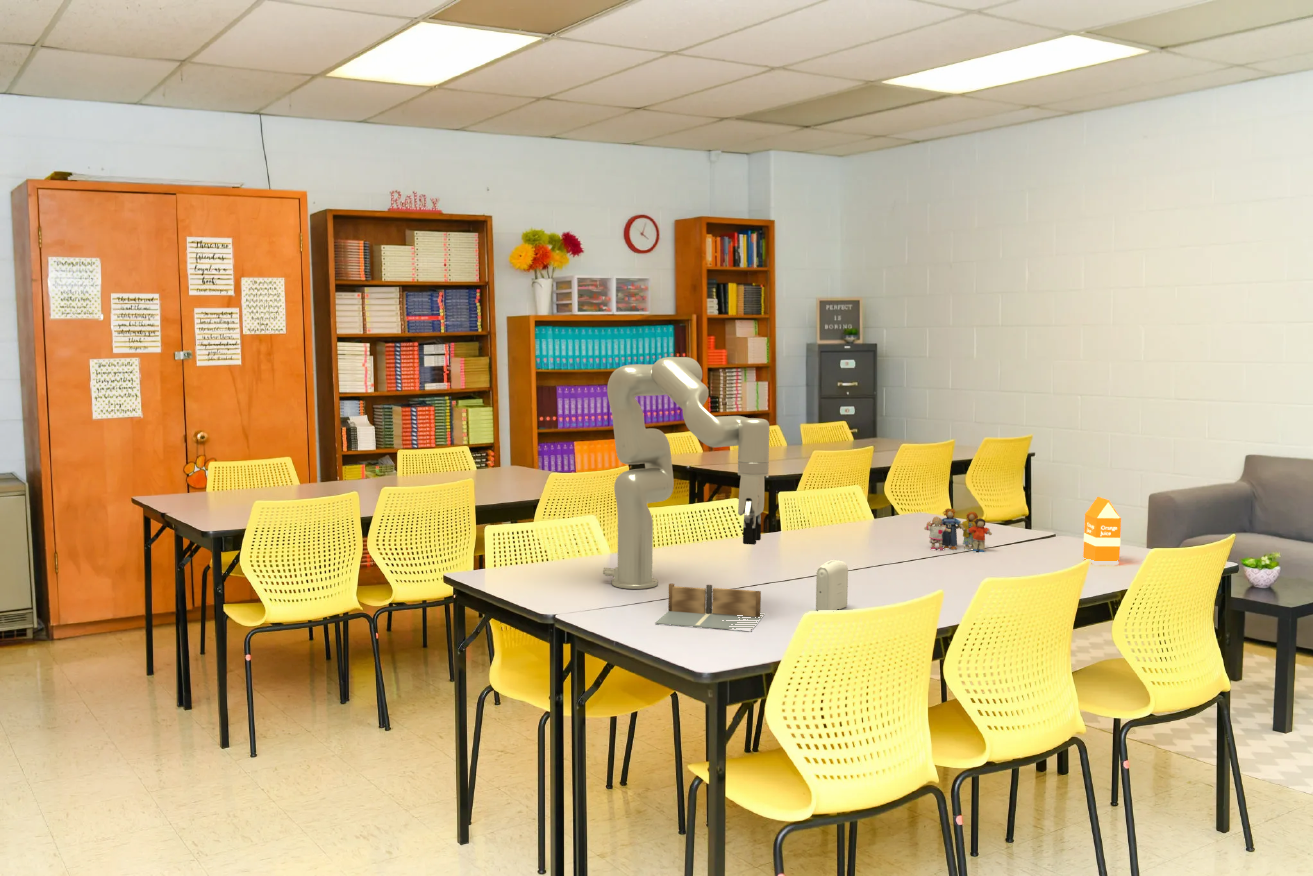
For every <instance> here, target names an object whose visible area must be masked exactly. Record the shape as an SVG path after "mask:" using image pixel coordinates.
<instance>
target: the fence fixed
mask: <svg viewBox="0 0 1313 876" xmlns="http://www.w3.org/2000/svg"><path fill="white" fill-rule="evenodd" d="M705 586H706V588H704V587H702V588H701V587H692V586H691V587H689V586H677V585H676V586H675V583H668V605H667V609H668V610H667V612H668V611H675V612H688V613H701V614H705V608H706V614H712V603H713V584H706V585H705Z"/></svg>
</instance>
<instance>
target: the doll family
mask: <svg viewBox="0 0 1313 876" xmlns="http://www.w3.org/2000/svg"><path fill="white" fill-rule="evenodd" d="M942 514H943V516H946V517H943V518H941V517H939V516H933V519H931V521H928V522H927V523H926V526H924V528H923V529H924V530H925V531H929V537H928V538H929V543H930V544H931V547H930V548H931V549H937V550H938V549H940V550H939V551H944V550H945V549H944V548H949V549H950V550H957V546H958V536H957V535H958V534H957V530H958V529H960V530H961V529H962V531H963V533H962V537H963V541H962V545H965V547H964V548H963V550H965V549H973V550H972V551H979V552H985V553H986V551H985V549H986V548H985V547H986V544H985V543H986V535H988V536H992V534H993V533H992V532H991V531H990V530H991V528H988V527H985V526H986V521H985V519H984V518H982V517H981V518H980V517H979V515H978V514H977V513H976V511H970V512H968V513H966V518H965V520H963V521H961V520H960V519H958V518H956V517H955V514H957V512H956V508H946V509H945V510H944V511H943V512H942ZM931 522H932V523H931ZM936 544H938V547H936ZM970 546H971V547H970ZM943 547H944V548H943ZM931 549H930V550H931ZM943 549H944V550H943ZM979 552H978V553H979Z"/></svg>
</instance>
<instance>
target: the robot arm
mask: <svg viewBox="0 0 1313 876" xmlns="http://www.w3.org/2000/svg"><path fill="white" fill-rule="evenodd" d="M702 369H703V368H702V367H701V366H700V364H699V362H698V361H697V360H695V359H694V358H692V357H688V356H681V357H680V356H668V357H662V358H659V359H658V360H656V362H654V364H643V363H642V364H639V363H638V364H627V365H623V366H620V367H617V368H616V369H615V370H614V371H613V372H612V373H611V374H610V377H609V379H608V382H607V387H606V388H607V389H606V393H607V400H608V404H609V406H610V410H611V411H610V412H611V416H612V426H613V434H614V444H615V451H616V453H615V454H616V457H617V459H618V460H619V461H620V463H622V464H624V465H640V464H644V468H635V469H628V470H625V471H623V472H622V473H620V474H619V475H618V476H617V477H616V478H615V481H614V488H613V490H614V496H615V500H616V508H617V509H616V510H617V566H616V567H614V568H611V567H604V568H603V570H602V574H603V575H604V576H605V577H611V576H612V577H613V578H612V580H611V585H612V586H614V587H616V588H620V589H627V590H628V589H629V590H641V589H642V590H644V589H650V588H655V587H656V586H658V585H659V581H658V579H657V578H655V577H653V551H654V550H653V548H654V547H653V546H654V545H653V538H654V531H653V530H654V524H653V521H654V520H653V516H652V513H651V511H650V508H649V507H648V504H651V503H658V502H664V501H666V500H667V499H669V498H670V497H671V495H672V494H673V491H674V484H675V483H674V481H675V480H674V471H673V461H672V453H671V445H670V442H669V440H668V437H667V436H666V433H664V432H663V431H662V430H660V429H657V428H651V427H650V428H646V425H645V416H644V415H645V414H644V411H643V409H642V406H641V405H640V403H639V402H638V401H637V400H636V397H642V396H643V397H648V396H649V397H651V396H664V395H667V396H668V397H669V398H670V399H671V400H672V401H673V402H674V403H675V404H676V405H677V406H678V407H679V408H680V409H681V410H682V417H683V421H684V423H685V425H686V428H687V429H688V430H689V431H690V433H692V435H693V436H695V438H697V440H699V441H700V442H701V443H703V444H704V445H705V446H708V447H710V448H722V447H737V446H738V447H737V449H738V450H737V475H738V476H740V480H739V492H738V504H737V505H738V506H737V507H738V508H737V509H738V511H737V514H738V515H739V516H743V525H742V526H743V528H742V543H743V544H744V545H751V546H753V545H756V544H757V541H760V540H762V524H761V523H762V519H761V517H762V515H761V514H762V513H763V512H764V509H765V508H764V507H765V477H766V476H769V473H770V471H769V468H770V467H769V466H770V465H769V464H770V463H769V462H770V461H769V460H770V423H769V421H768V419H764V418H754V417H751V418H748V417H745V416H741V415H728V416H727V415H726V416H715V415H713V414H711V413H710V412H709V411H708V410H707V409H706V408H705V407H704V405H705V403H706V401H708V398H709V388H708V387H707V386H706V384H704V383H703V382H702V379H703V370H702Z"/></svg>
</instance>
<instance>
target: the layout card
mask: <svg viewBox="0 0 1313 876" xmlns="http://www.w3.org/2000/svg"><path fill="white" fill-rule="evenodd" d="M760 613H762V611H760ZM760 615H764V614H760ZM764 616H765V615H764ZM738 617H740V618H738ZM742 617H751V618H742ZM755 617H756V616H737V615H730V614H717V613H712V614H706V608H705V614H701V613H688V612H675V611H668V610H667V612H666V613H665V614H664V615H662V616H661V617H660V618H659V619H657V620H656V621H655V622H654V624H655V623H657V624H656V625H659V624H671V625H670V626H672V625H679V626H678V627H684V626H693V627H692V628H697V627H702V628H701V629H709V628H720V629H719V630H721V629H732V628H734V629H736V628H753V627H729V626H755V625H735V624H757V623H737V622H756V621H726V620H739V619H740V620H743V619H746V620H747V619H748V620H759V619H761V617H762V616H760V618H758V617H756V618H755ZM762 618H763V617H762ZM722 620H724V621H722ZM761 620H762V619H761ZM757 622H758V621H757ZM731 624H733V625H731ZM757 625H758V624H757ZM755 627H756V626H755Z"/></svg>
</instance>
